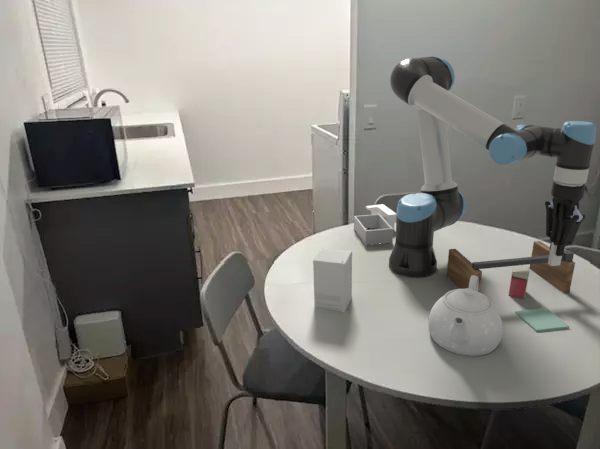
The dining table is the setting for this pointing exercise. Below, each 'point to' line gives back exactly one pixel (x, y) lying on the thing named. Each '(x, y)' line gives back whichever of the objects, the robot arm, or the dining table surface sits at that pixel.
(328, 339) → the dining table surface
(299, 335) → the dining table surface
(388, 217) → the bracket
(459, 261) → the rack
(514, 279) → the small box
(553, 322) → the pad
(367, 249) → the dining table surface
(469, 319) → the teapot
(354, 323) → the dining table surface
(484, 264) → the tie bar
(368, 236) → the box
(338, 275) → the supplement box
